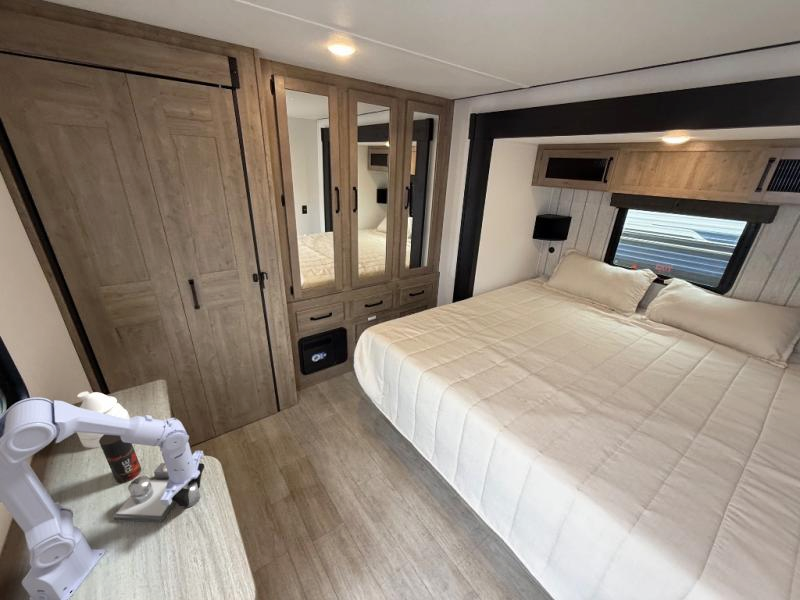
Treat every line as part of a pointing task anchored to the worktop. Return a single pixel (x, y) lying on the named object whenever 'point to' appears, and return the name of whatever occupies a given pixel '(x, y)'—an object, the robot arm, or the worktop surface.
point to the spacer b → (192, 493)
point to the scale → (148, 502)
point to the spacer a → (140, 489)
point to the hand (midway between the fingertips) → (190, 496)
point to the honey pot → (101, 405)
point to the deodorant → (120, 458)
